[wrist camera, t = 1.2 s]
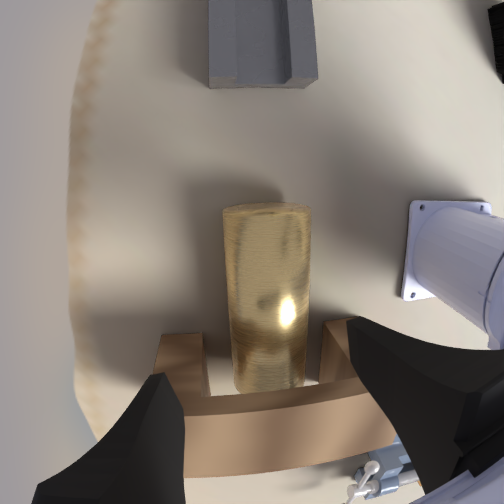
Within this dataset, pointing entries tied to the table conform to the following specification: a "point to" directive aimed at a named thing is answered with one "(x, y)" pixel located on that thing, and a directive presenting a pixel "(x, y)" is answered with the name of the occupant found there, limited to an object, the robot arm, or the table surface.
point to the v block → (261, 44)
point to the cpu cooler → (498, 35)
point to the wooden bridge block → (272, 413)
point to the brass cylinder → (268, 293)
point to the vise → (383, 472)
